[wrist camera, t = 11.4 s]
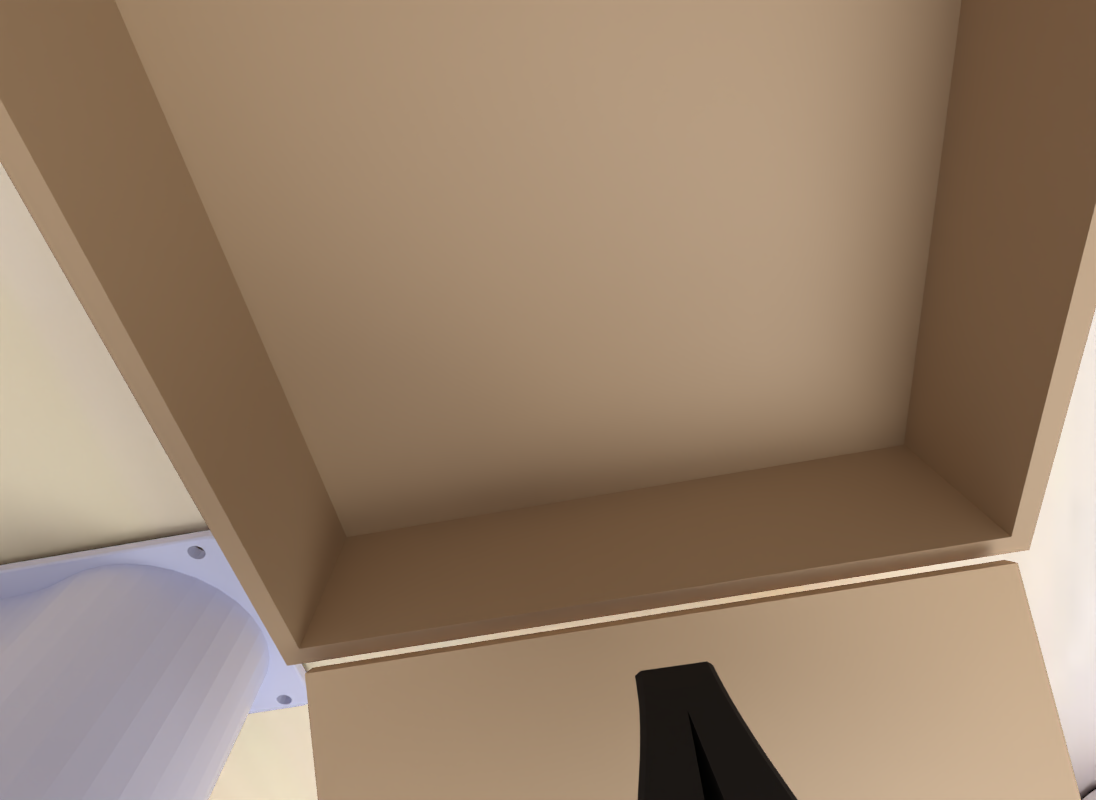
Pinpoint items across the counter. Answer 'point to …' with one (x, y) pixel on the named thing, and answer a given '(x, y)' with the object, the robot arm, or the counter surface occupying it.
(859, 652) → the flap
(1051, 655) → the counter surface
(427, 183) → the carton
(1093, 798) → the supplement bottle
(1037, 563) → the counter surface
